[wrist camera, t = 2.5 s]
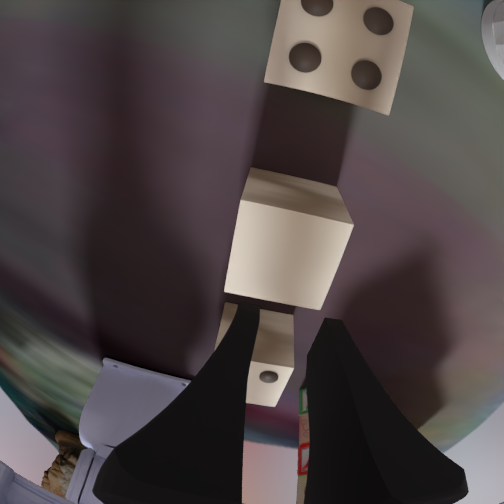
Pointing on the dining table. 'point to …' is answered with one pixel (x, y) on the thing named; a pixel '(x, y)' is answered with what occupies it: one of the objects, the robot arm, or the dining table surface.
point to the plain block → (287, 239)
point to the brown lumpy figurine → (63, 463)
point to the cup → (494, 34)
